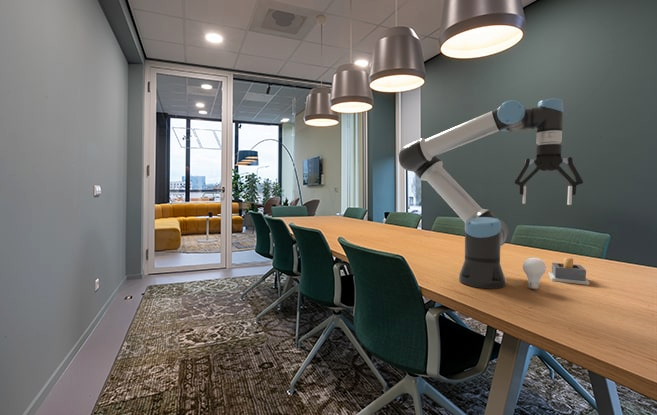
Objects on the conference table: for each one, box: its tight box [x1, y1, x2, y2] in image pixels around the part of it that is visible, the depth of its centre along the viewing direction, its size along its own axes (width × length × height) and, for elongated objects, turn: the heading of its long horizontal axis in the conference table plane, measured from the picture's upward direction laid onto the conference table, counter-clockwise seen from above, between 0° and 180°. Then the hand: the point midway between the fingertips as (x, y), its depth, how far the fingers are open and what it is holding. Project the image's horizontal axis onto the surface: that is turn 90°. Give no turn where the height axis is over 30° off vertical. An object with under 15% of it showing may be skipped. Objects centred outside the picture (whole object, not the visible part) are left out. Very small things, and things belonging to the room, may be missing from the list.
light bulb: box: [522, 257, 547, 291], centre depth 109 cm, size 7×7×11 cm
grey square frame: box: [551, 262, 587, 281], centre depth 122 cm, size 9×9×4 cm
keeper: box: [548, 257, 590, 285], centre depth 122 cm, size 11×10×8 cm
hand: (546, 204), depth 116 cm, fingers open, 13 cm apart
